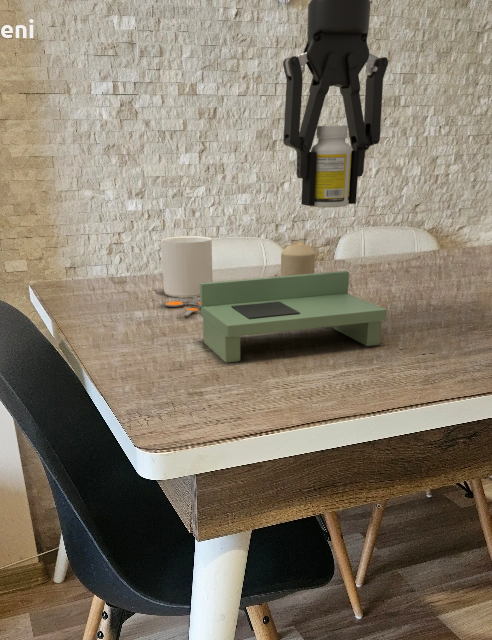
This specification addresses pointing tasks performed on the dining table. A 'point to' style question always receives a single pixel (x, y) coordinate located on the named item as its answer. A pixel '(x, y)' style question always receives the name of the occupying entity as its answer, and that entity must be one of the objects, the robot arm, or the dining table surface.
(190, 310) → the key chain
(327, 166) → the supplement bottle
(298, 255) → the candle
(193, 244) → the mug
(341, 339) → the dining table surface
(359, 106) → the robot arm
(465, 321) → the dining table surface
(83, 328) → the dining table surface
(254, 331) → the green l-shaped stand
